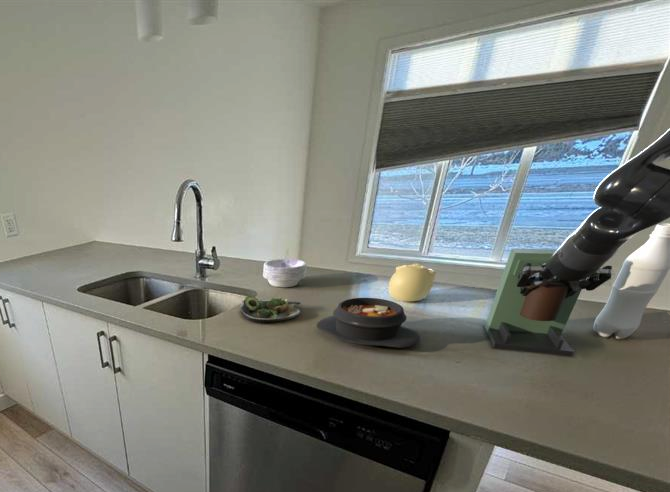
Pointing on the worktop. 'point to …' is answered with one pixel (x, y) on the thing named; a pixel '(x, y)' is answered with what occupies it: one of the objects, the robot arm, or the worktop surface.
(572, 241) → the robot arm
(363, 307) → the casserole
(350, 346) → the worktop surface
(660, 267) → the water bottle
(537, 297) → the brown cylinder canister
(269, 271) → the paper bowls
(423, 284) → the pale yellow rounded lump
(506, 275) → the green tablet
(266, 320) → the salad plate
